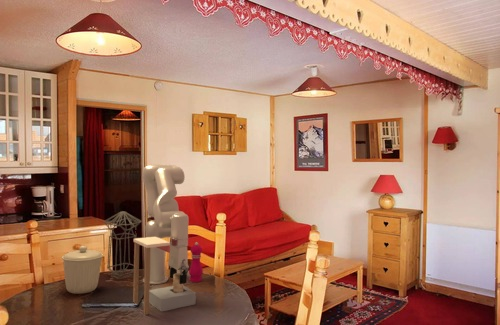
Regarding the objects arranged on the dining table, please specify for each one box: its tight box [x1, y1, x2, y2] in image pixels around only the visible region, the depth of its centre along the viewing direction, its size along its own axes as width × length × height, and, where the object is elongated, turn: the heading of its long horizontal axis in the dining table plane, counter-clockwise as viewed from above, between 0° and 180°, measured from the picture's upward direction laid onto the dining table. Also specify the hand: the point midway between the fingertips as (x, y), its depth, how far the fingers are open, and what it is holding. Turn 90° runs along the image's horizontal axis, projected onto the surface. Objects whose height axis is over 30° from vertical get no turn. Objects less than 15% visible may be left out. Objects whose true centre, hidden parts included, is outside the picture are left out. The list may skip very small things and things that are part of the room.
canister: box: [61, 245, 104, 295], centre depth 186 cm, size 18×18×21 cm
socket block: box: [149, 285, 197, 313], centre depth 172 cm, size 14×16×5 cm
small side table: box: [132, 237, 171, 316], centre depth 166 cm, size 15×10×28 cm, turn 37°
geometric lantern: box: [103, 210, 143, 280], centre depth 211 cm, size 16×16×35 cm
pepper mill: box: [188, 241, 204, 283], centre depth 206 cm, size 7×7×20 cm
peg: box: [172, 272, 184, 293], centre depth 174 cm, size 4×4×12 cm
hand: (178, 280), depth 174 cm, fingers open, 9 cm apart
